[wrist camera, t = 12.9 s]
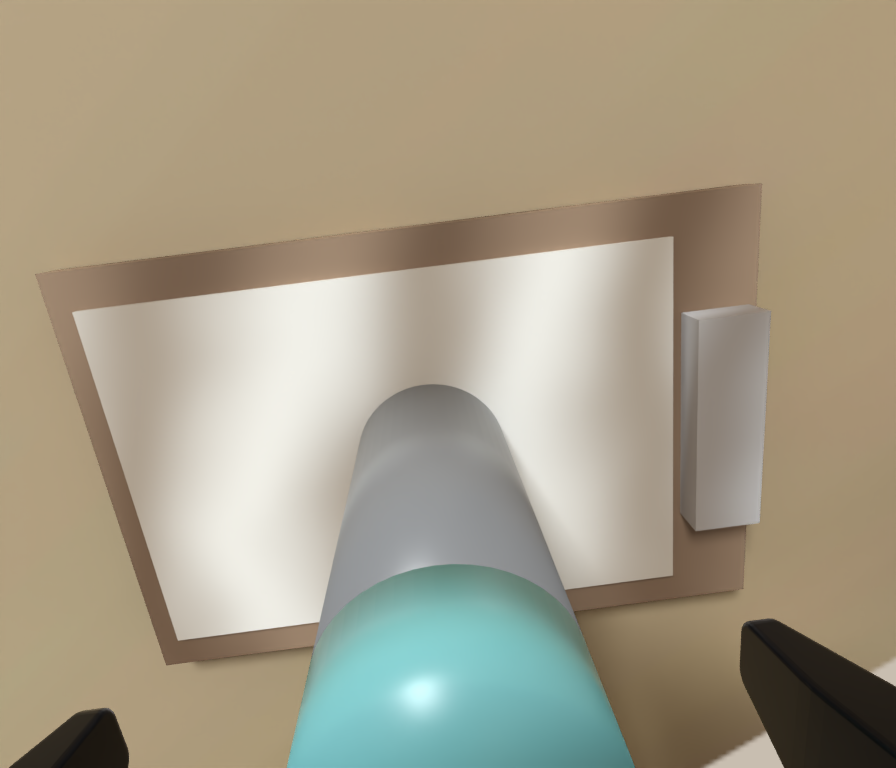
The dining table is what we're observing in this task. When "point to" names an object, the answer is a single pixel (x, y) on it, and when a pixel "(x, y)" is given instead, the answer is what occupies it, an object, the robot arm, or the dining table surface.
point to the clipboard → (421, 363)
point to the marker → (447, 611)
